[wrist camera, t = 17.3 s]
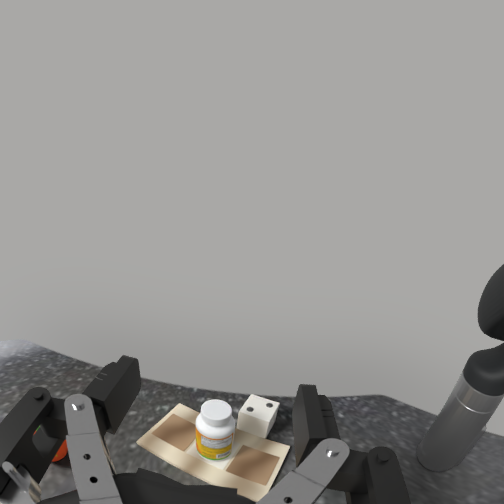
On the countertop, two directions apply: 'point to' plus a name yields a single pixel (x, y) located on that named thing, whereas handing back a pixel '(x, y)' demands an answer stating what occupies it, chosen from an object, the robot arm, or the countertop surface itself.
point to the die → (257, 416)
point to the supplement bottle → (215, 431)
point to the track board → (221, 472)
